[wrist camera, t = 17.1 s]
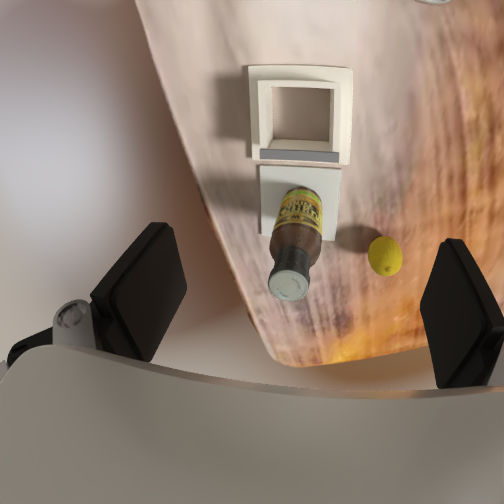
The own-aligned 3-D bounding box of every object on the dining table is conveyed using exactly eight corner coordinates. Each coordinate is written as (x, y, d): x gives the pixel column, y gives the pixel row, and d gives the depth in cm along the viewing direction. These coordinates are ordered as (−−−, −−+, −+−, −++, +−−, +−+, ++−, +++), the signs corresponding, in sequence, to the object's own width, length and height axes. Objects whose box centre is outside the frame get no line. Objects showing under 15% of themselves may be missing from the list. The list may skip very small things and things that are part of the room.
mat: (341, 168, 41) (341, 169, 41) (334, 238, 48) (334, 240, 47) (260, 164, 43) (259, 165, 43) (262, 234, 50) (261, 236, 49)
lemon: (392, 223, 44) (404, 250, 38) (398, 250, 46) (409, 279, 40) (361, 233, 46) (368, 261, 40) (369, 259, 49) (375, 289, 42)
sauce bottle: (322, 184, 42) (327, 262, 26) (321, 221, 46) (323, 312, 30) (279, 184, 44) (257, 259, 27) (281, 221, 47) (261, 309, 31)
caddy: (351, 69, 33) (360, 67, 27) (348, 162, 40) (355, 180, 34) (249, 66, 35) (237, 63, 29) (253, 158, 43) (242, 174, 37)
